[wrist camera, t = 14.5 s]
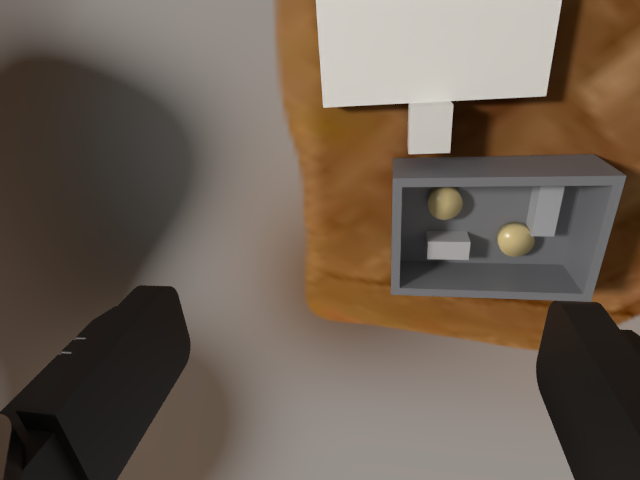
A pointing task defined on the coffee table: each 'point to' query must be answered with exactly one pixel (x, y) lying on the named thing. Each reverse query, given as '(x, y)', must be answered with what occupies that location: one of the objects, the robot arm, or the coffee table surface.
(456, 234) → the tub
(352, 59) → the lid
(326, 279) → the coffee table surface
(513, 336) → the coffee table surface
